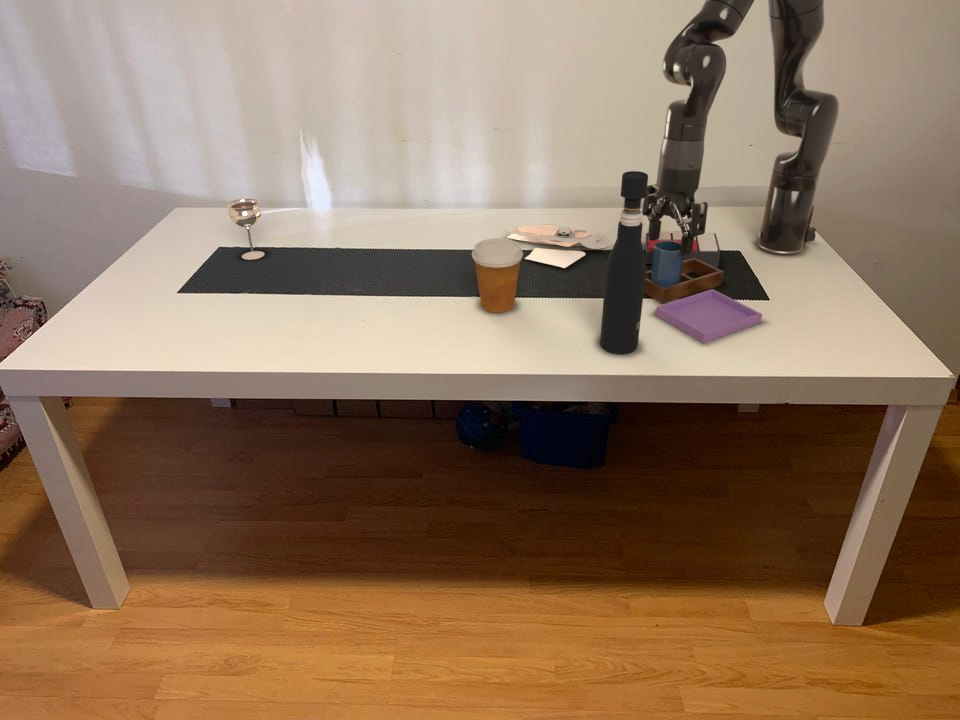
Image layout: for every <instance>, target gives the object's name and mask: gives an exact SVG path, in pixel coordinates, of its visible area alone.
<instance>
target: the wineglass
mask: <svg viewBox="0 0 960 720" xmlns="http://www.w3.org/2000/svg"><path fill="white" fill-rule="evenodd" d="M259 203H260V201H259V200H258V199H256V198H249V197H248V198H239V199H234V200H231V201H230V202H228V203H227V205H226V206H227V208H228V217H229V219H230V221H231V222H232V223H233V224H235V226H238V227H241V228H244V229H245V230H246V234H247V239H248V244H249V246H250V251H246V252H245V253H243V254H242V255H241V258H242V259H244V260H249V261H250V260H251V261H252V260H257V259H261V258H263V257H264V256H265V252H263V251H261V250H254V248H253V241H252V233H251V229H252V227H253V226H255V225H256V224H257V223H258V222H259V220H260V219H261V215H262V210H261V208H260V206H259Z"/></svg>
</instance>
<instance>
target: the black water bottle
mask: <svg viewBox="0 0 960 720" xmlns="http://www.w3.org/2000/svg"><path fill="white" fill-rule="evenodd" d="M648 183H649V175H648V173H646V172H643V171H637V170H630V171H624V172H623V173H622V175H621V186H620V196H621V197H622V198H624V202H623V209H622V210H621V213H620V219H619V221H618V223H617V233H616V234H617V236H616V240H615V242H614V245H613V246H612V249H611V251H610V253H609V256H608V259H607V263H606V267H605V277H604V289H603V300H602V301H603V302H602V314H601V327H600V338H599V345H600V348H601V349H602V350H603V351H605V352H607V353H610V354H613V355H622V356H623V355H628V354H632V353H634V352H636V350H637V349H638V345H639V337H640V327H641V319H642V309H643V301H644V295H645V294H644V285H645V276H646V271H647V264H646V254H645V249H644V246H643V242H642V236H643V223H642V221H643V219H642V218H643V214H642V206H641V205H642V199H644V198H645V197H646V192H647V186H648Z"/></svg>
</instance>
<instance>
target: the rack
mask: <svg viewBox="0 0 960 720" xmlns="http://www.w3.org/2000/svg"><path fill="white" fill-rule="evenodd" d="M651 271H652V269H650V270H646V276H645V285H644V294H643V295H646V296H648V297H650V298H651V299H653V300H655V301H657V302H658V303H660V304H661V305H664V304H667V303H670V302H673V301H676V300H679V299H682V298H686V297H689V296H692V295H695V294H698V293H701V292H705V291H708V290H711V289H714V288H716V287H720V286H722V285H723V280H724V279H723V278H724V274H725V272H724V270H722V269H720V268H719V267H717V268H715V267H713V266H711V265H709V264H707V263H705V262H703V261H701V260H698V259H696V258H691V259H688V260H684V261H683V263H682V270H681V277H680V283H678V284H675V285H672V286H668V287H665V288H664V287H662V286H660V285H658V284H657V283H655V282H653V281H651ZM691 273H693V274H694V275H697V276H698V277H695V278H693V277H691V276H689V275H688V274H691Z"/></svg>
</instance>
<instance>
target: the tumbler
mask: <svg viewBox="0 0 960 720" xmlns="http://www.w3.org/2000/svg"><path fill="white" fill-rule="evenodd" d="M680 245H681V243H679V242H675V241H660V242H657V243H655V246H654V255H653V263H652V264H651V270H652V271H651V281H653V282H655V283H657V284H658V285H660V286H662V287H664V288H665V287H668V286H672V285H675V284H678V283H680V277H681V270H682V263H683V256H684V255H681V254H680V253H679V252H680Z"/></svg>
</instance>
